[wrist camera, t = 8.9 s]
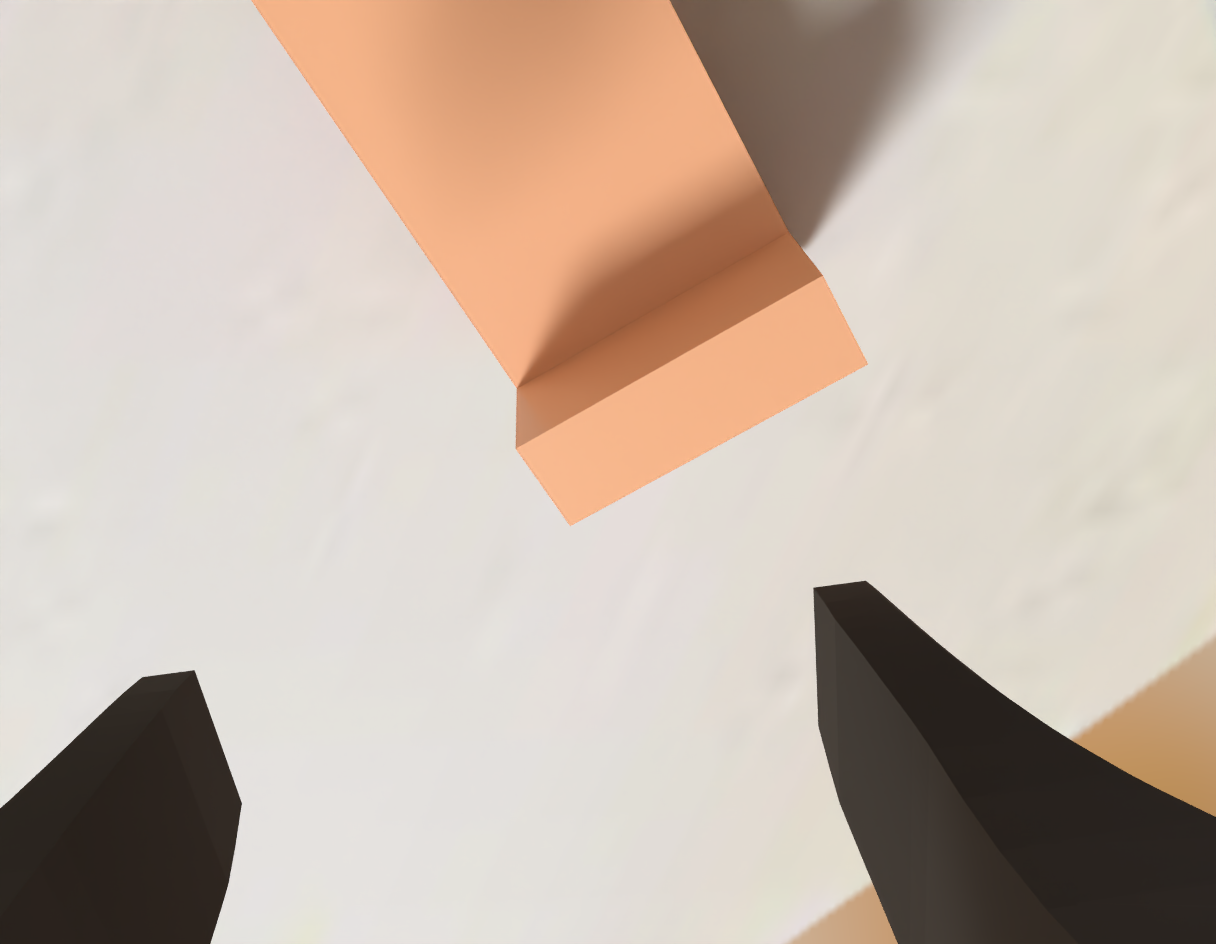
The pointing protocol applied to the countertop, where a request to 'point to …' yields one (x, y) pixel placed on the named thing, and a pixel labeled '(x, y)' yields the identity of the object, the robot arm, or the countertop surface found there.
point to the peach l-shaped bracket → (581, 221)
